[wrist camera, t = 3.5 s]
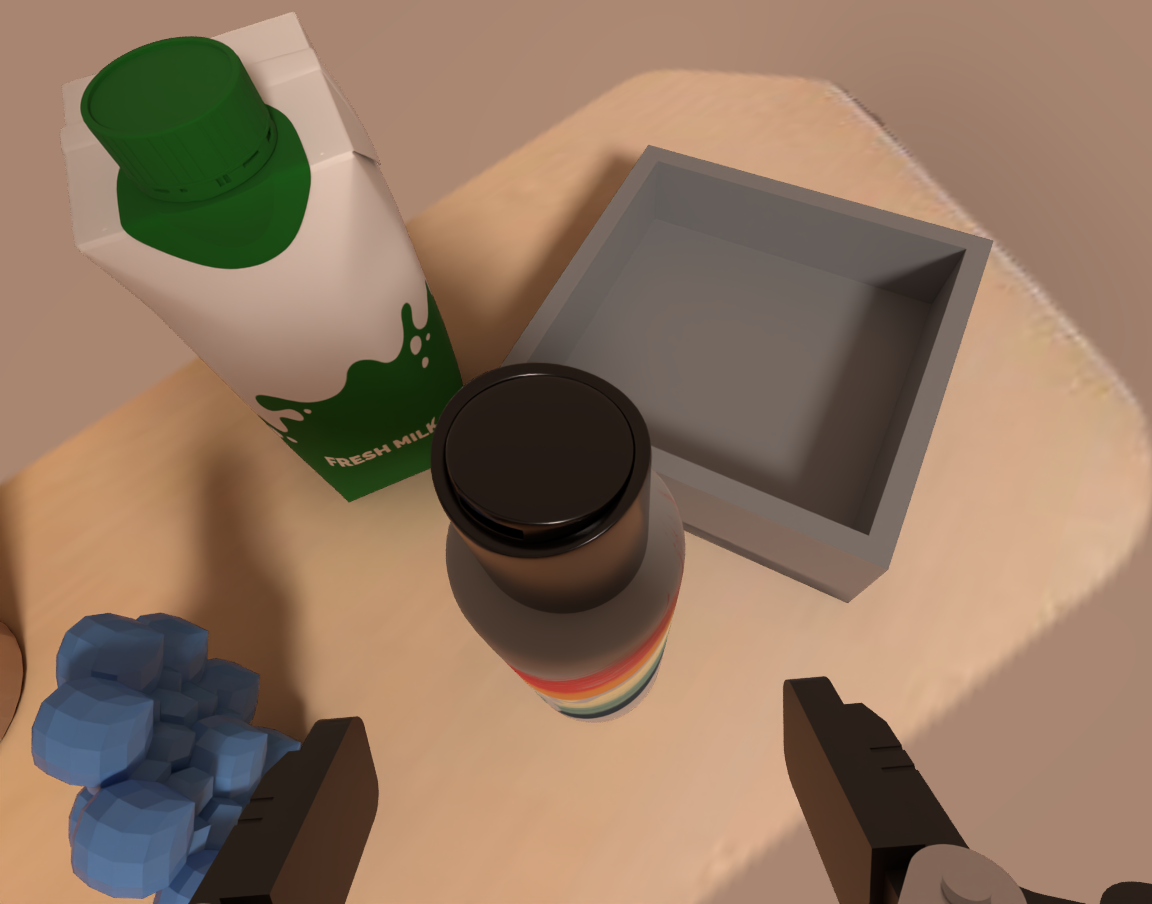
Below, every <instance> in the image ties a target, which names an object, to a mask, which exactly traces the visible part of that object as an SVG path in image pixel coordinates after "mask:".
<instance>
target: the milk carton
mask: <svg viewBox="0 0 1152 904" xmlns="http://www.w3.org/2000/svg"><path fill="white" fill-rule="evenodd" d="M62 94H63V105H64V116H65V125H66V126H65V127H63V128H61V131H60V140H61V141H60V142H61V149H62V152H63V155H64V156H65V166H66V175H67V184H68V193H69V202H70V210H71V219H72V227H73V235H74V243H75V247H77V248H78V249H79V251H80V252H81V253H82V254H83V255H85V256H86V257H87V258H89V259H90V260H91V261H92V262H94V263H95V264H96V265H97V266H99V267H100V268H101V269H103V270H104V271H105V272H106V273H108V274H109V275H110V276H111V277H113V278H114V279H115V280H116V281H118V282H119V283H120V284H121V285H123V286H124V287H125V288H126V289H128V290H129V291H130V292H131V293H132V294H134V295H135V296H136V297H137V298H139V299H140V300H141V301H142V302H143V303H144V304H146V305H147V306H148V307H149V308H150V309H151V310H153V311H154V312H155V313H156V314H157V315H158V316H159V317H160V318H161V319H162V320H163V321H164V322H165V323H166V324H167V325H168V326H169V327H170V328H171V329H172V330H173V331H174V332H175V333H176V334H177V335H178V336H179V337H180V338H181V339H182V340H183V341H184V342H185V343H186V344H187V345H188V346H189V347H190V348H191V349H192V350H193V351H194V352H195V353H196V354H197V355H198V356H199V357H200V358H201V359H202V360H203V361H204V362H205V363H206V364H207V365H208V366H209V367H210V368H211V369H212V370H213V371H214V372H215V373H216V374H217V375H218V376H219V377H220V378H221V379H222V380H223V381H224V382H225V383H226V384H227V385H228V386H229V387H230V388H231V389H232V390H233V391H234V392H235V393H236V394H237V395H238V396H239V397H240V398H241V399H242V400H243V401H244V402H245V403H246V404H247V405H248V406H249V407H250V408H251V409H252V410H253V411H254V412H255V413H256V414H257V415H258V416H259V417H260V418H261V419H262V420H263V421H264V422H265V423H266V424H267V425H268V426H269V427H270V428H271V429H272V430H273V431H274V432H275V433H276V434H277V435H279V436H280V437H281V438H282V439H283V440H284V441H285V442H286V444H287V445H288V446H289V447H290V448H292V449H293V450H294V451H295V452H296V453H297V454H298V455H299V456H300V457H301V458H302V459H303V460H304V461H305V462H306V463H308V464H309V465H310V466H311V467H312V468H313V469H314V470H315V471H316V472H317V473H318V474H319V475H321V476H322V477H323V478H324V479H325V480H326V481H327V482H328V483H329V484H330V485H331V486H332V487H333V488H335V489H336V490H337V491H338V492H339V493H340V494H341V495H342V496H343V497H344V498H345V499H346V500H347V501H348V502H351V501H353V500H355V499H358V498H360V497H362V496H365V495H367V494H370V493H372V492H374V491H377V490H379V489H382V488H384V487H386V486H389V485H391V484H394V483H396V482H398V481H401V480H403V479H406V478H408V477H410V476H413V475H415V474H418V473H420V472H422V471H425V470H427V469H429V468H431V461H430V456H431V444H432V438H433V434H434V430H435V427H436V424H437V422H438V419H439V417H440V415H441V413H442V412H443V410H444V408H445V407H446V405H447V404H448V402H449V401H450V400H451V398H452V397H453V396H454V395H455V394H456V393H457V392H458V391H459V390H460V389H461V388H462V387H463V383H462V379H461V375H460V371H459V368H458V364H457V361H456V358H455V355H454V352H453V349H452V346H451V343H450V340H449V337H448V334H447V331H446V328H445V325H444V322H443V320H442V317H441V315H440V312H439V310H438V307H437V305H436V302H435V300H434V297H433V295H432V292H431V290H430V287H429V285H428V282H427V280H426V277H425V275H424V272H423V270H422V267H421V265H420V262H419V260H418V257H417V255H416V252H415V250H414V247H413V245H412V242H411V240H410V237H409V235H408V232H407V230H406V227H405V225H404V222H403V220H402V217H401V215H400V212H399V210H398V207H397V205H396V203H395V200H394V198H393V196H392V194H391V192H390V190H389V187H388V185H387V183H386V181H385V179H384V177H383V175H382V173H381V171H380V169H379V167H378V165H377V163H378V164H379V165H381V163H380V160H379V158H378V156H377V153H376V151H375V149H374V147H373V144H372V142H371V141H370V138H369V136H368V134H367V132H366V130H365V128H364V126H363V124H362V123H361V121H360V119H359V117H358V115H357V114H356V112H355V110H354V108H353V107H352V105H351V103H350V102H349V100H348V99H347V97H346V96H345V94H344V92H343V91H342V90H341V88H340V86H339V85H338V83H337V82H336V80H335V79H334V77H333V76H332V75H331V73H330V72H329V70H328V69H327V68H326V67H325V65H324V64H323V62H322V61H321V59H320V58H319V56H318V54H317V52H316V50H315V49H314V47H313V45H312V43H311V41H310V39H309V37H308V35H307V34H306V32H305V30H304V28H303V26H302V25H301V23H300V21H299V19H298V17H297V15H296V14H295V13H294V12H291V13H287V14H284V15H281V16H277V17H274V18H271V19H268V20H265V21H262V22H259V23H256V24H252V25H249V26H246V27H242V28H239V29H236V30H233V31H230V32H227V33H224V34H220V35H217V36H214V37H211V38H205V37H192V36H191V37H176V38H169V39H164V40H160V41H156V42H153V43H150V44H147V45H144V46H141V47H139V48H136V49H134V50H132V51H130V52H128V53H126V54H124V55H122V56H121V57H119V58H117V59H116V60H114V61H112V62H111V63H110V64H108V65H107V66H106V67H104V68H103V69H102V70H101V71H100V72H99V73H96V74H93V75H90V76H87V77H84V78H80V79H77V80H74V81H71V82H68V83H65V84H63V85H62ZM376 162H377V163H376Z"/></svg>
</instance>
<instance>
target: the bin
mask: <svg viewBox="0 0 1152 904" xmlns="http://www.w3.org/2000/svg"><path fill="white" fill-rule="evenodd" d="M992 244H993V240H989V239H986V238H982V237H978V236H975V235H971V234H968V233H964V232H960V231H957V230H953V229H950V228H946V227H942V226H939V225H935V224H932V223H928V222H924V221H921V220H917V219H914V218H910V217H906V216H903V215H899V214H896V213H892V212H888V211H885V210H881V209H878V208H874V207H870V206H867V205H863V204H860V203H856V202H852V201H849V200H845V199H842V198H838V197H834V196H831V195H827V194H824V193H820V192H816V191H813V190H809V189H806V188H802V187H798V186H795V185H791V184H788V183H784V182H780V181H777V180H773V179H770V178H766V177H762V176H759V175H755V174H751V173H748V172H744V171H741V170H737V169H733V168H730V167H726V166H723V165H719V164H715V163H712V162H708V161H705V160H701V159H697V158H694V157H690V156H687V155H683V154H679V153H676V152H672V151H669V150H665V149H661V148H658V147H654V146H651V145H648V146H647V148H646V149H645V151H644V152H643V154H642V155H641V157H640V158H639V160H638V161H637V163H636V164H635V166H634V167H633V169H632V170H631V172H630V173H629V175H628V176H627V178H626V179H625V181H624V182H623V184H622V185H621V187H620V188H619V190H618V191H617V193H616V194H615V196H614V197H613V199H612V200H611V202H610V203H609V205H608V206H607V208H606V209H605V211H604V212H603V214H602V215H601V217H600V218H599V220H598V221H597V223H596V224H595V226H594V227H593V229H592V230H591V232H590V233H589V235H588V236H587V238H586V239H585V240H584V242H583V243H582V245H581V246H580V248H579V249H578V251H577V252H576V254H575V255H574V257H573V258H572V260H571V261H570V263H569V264H568V266H567V267H566V269H565V270H564V272H563V273H562V275H561V276H560V278H559V279H558V281H557V282H556V284H555V285H554V287H553V288H552V290H551V291H550V293H549V294H548V296H547V297H546V299H545V300H544V302H543V303H542V305H541V306H540V308H539V309H538V311H537V312H536V314H535V315H534V317H533V318H532V320H531V321H530V323H529V324H528V326H527V327H526V329H525V330H524V332H523V333H522V335H521V336H520V338H519V339H518V341H517V342H516V344H515V345H514V347H513V348H512V350H511V351H510V353H509V354H508V356H507V357H506V359H505V360H504V362H503V363H502V365H501V366H500V367H503V366H507V365H512V364H518V363H530V362H541V363H553V364H560V365H565V366H570V367H574V368H577V369H580V370H583V371H586V372H589V373H591V374H594V375H596V376H598V377H600V378H602V379H604V380H606V381H607V382H609V383H611V384H612V385H614V386H615V387H617V388H618V389H619V390H620V391H622V392H623V393H624V394H625V395H626V396H627V397H628V398H629V399H630V400H631V401H632V402H633V403H634V405H635V406H636V407H637V408H638V410H639V412H640V413H641V415H642V416H643V418H644V420H645V423H646V425H647V428H648V431H649V435H650V440H651V450H652V463H651V468H652V469H653V470H654V471H655V472H656V473H657V474H658V475H659V477H660V478H661V479H662V480H663V482H664V483H665V485H666V486H667V487H668V489H669V491H670V493H671V495H672V496H673V498H674V501H675V503H676V505H677V508H678V511H679V514H680V517H681V520H682V524H683V529H684V530H685V531H687V532H689V533H691V534H694V535H696V536H698V537H700V538H703V539H705V540H707V541H709V542H711V543H714V544H716V545H718V546H720V547H723V548H725V549H727V550H729V551H732V552H734V553H736V554H738V555H741V556H743V557H745V558H747V559H750V560H752V561H754V562H756V563H759V564H761V565H763V566H765V567H768V568H770V569H772V570H774V571H777V572H779V573H781V574H783V575H786V576H788V577H790V578H792V579H795V580H797V581H799V582H801V583H804V584H806V585H808V586H810V587H813V588H815V589H817V590H819V591H822V592H824V593H826V594H828V595H831V596H833V597H835V598H837V599H840V600H842V601H844V602H846V603H849V602H850V601H851V600H852V599H853V598H855V597H856V596H857V595H858V594H859V593H861V592H862V591H863V590H864V589H865V588H867V587H868V586H869V585H870V584H871V583H873V582H874V581H875V580H876V579H877V578H879V577H880V576H881V575H882V574H884V573H885V572H886V571H887V570H888V568H889V565H890V562H891V559H892V556H893V553H894V549H895V546H896V543H897V540H898V537H899V534H900V531H901V528H902V524H903V521H904V518H905V515H906V512H907V509H908V506H909V503H910V500H911V496H912V493H913V490H914V487H915V484H916V481H917V478H918V475H919V471H920V468H921V465H922V462H923V459H924V456H925V453H926V450H927V446H928V443H929V440H930V437H931V434H932V431H933V428H934V425H935V422H936V418H937V415H938V412H939V409H940V406H941V403H942V400H943V397H944V393H945V390H946V387H947V384H948V381H949V378H950V375H951V372H952V368H953V365H954V362H955V359H956V356H957V353H958V350H959V347H960V344H961V340H962V337H963V334H964V331H965V328H966V325H967V322H968V319H969V315H970V312H971V309H972V306H973V303H974V300H975V297H976V294H977V290H978V287H979V284H980V281H981V278H982V275H983V272H984V269H985V266H986V262H987V259H988V256H989V253H990V250H991V247H992Z"/></svg>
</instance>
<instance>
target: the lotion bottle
mask: <svg viewBox="0 0 1152 904" xmlns="http://www.w3.org/2000/svg"><path fill="white" fill-rule="evenodd" d="M430 461H431V473H432V480H433V483H434V487H435V491H436V493H437V496H438V499H439V501H440V503H441V505H442V507H443V509H444V511H445V513H446V514H447V516H448V518H449V519H450V521H451V522H450V525H449V529H448V535H447V542H446V564H447V572H448V577H449V581H450V585H451V588H452V591H453V594H454V597H455V599H456V601H457V603H458V606H459V608H460V609H461V611H462V613H463V614H464V616H465V617H466V619H467V620H468V621H469V623H470V624H471V625H472V627H473V628H474V629H475V631H476V632H477V633H478V634H479V635H480V636H481V637H482V638H483V639H484V640H485V641H486V642H487V644H488V645H489V646H490V647H491V648H492V649H493V650H494V651H495V652H496V653H497V654H498V655H499V656H500V657H501V658H502V659H503V660H504V661H505V662H506V663H507V664H508V665H509V666H510V667H511V668H512V669H513V670H514V671H515V672H516V673H517V674H518V675H519V676H520V677H521V678H522V679H523V680H524V681H525V682H526V683H527V684H528V685H529V686H530V687H531V688H532V689H533V690H534V691H535V692H536V693H537V694H538V695H539V696H540V697H541V698H542V699H543V700H544V701H545V702H547V703H548V704H549V705H550V706H551V707H552V708H554V709H555V710H557V711H558V712H560V713H561V714H563V715H565V716H567V717H569V718H572V719H575V720H578V721H583V722H591V723H595V722H606V721H610V720H614V719H616V718H619V717H621V716H623V715H625V714H627V713H628V712H630V711H631V710H633V709H634V708H635V707H637V706H638V705H639V704H640V703H641V702H642V701H643V699H644V698H645V697H646V696H647V694H648V693H649V691H650V689H651V688H652V686H653V684H654V682H655V679H656V677H657V674H658V671H659V668H660V664H661V660H662V656H663V652H664V648H665V645H666V641H667V637H668V633H669V629H670V625H671V621H672V617H673V614H674V610H675V606H676V602H677V598H678V594H679V589H680V585H681V580H682V575H683V569H684V560H685V537H684V529H683V524H682V520H681V517H680V514H679V511H678V508H677V505H676V503H675V501H674V498H673V496H672V495H671V493H670V491H669V489H668V487H667V486H666V485H665V483H664V482H663V480H662V479H661V478H660V477H659V475H658V474H657V473H656V472H655V471H654V470H653V469H652V468H651V463H652V450H651V440H650V435H649V431H648V428H647V425H646V423H645V420H644V418H643V416H642V415H641V413H640V412H639V410H638V408H637V407H636V406H635V405H634V403H633V402H632V401H631V400H630V399H629V398H628V397H627V396H626V395H625V394H624V393H623V392H622V391H620V390H619V389H618V388H617V387H615V386H614V385H612V384H611V383H609V382H607V381H606V380H604V379H602V378H600V377H598V376H596V375H594V374H591V373H589V372H586V371H583V370H580V369H577V368H574V367H570V366H565V365H560V364H553V363H541V362H530V363H518V364H512V365H507V366H503V367H499V368H496V369H493V370H491V371H488V372H486V373H484V374H482V375H480V376H478V377H476V378H475V379H473V380H471V381H470V382H469V383H467V384H466V385H465V386H463V387H462V388H461V389H460V390H459V391H458V392H457V393H456V394H455V395H454V396H453V397H452V398H451V400H450V401H449V402H448V404H447V405H446V407H445V408H444V410H443V412H442V413H441V415H440V417H439V419H438V422H437V424H436V427H435V430H434V434H433V438H432V444H431V456H430Z"/></svg>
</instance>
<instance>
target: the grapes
mask: <svg viewBox="0 0 1152 904" xmlns="http://www.w3.org/2000/svg"><path fill="white" fill-rule="evenodd" d="M207 652H208V631H207V630H205V629H203V628H201V627H199V626H197V625H194V624H192V623H190V622H188V621H186V620H184V619H182V618H180V617H176V616H172V615H168V614H164V613H155V614H149V615H142V616H140V617H139V618H137V619H136V620H135V619H132V618H128V617H124V616H120V615H115V614H111V613H105V614H98V615H92V616H85V617H84V618H83V619H81V620H80V621H79V622H78V623H76V624H75V625H74V626H73V627H72V628H70V629H69V630H68V631H67V632H66V633H65V635H64V638H63V641H62V643H61V646H60V648H59V651H58V653H57V657H56V679H57V685H58V689H57V690H55V691H54V692H53V693H52V694H51V695H50V696H49V697H48V698H46V699H45V700H44V701H43V702H42V703H41V706H40V708H39V711H38V714H37V716H36V719H35V721H34V724H33V726H32V756H33V760H34V764H35V765H36V766H37V767H38V768H39V769H41V770H42V771H43V772H45V773H46V774H48V775H50V776H52V777H54V778H56V779H59V780H61V781H63V782H65V783H67V784H69V785H78V786H85V787H84V788H83V789H82V790H81V791H80V792H79V793H78V794H77V796H76V799H75V802H74V804H73V807H72V810H71V813H70V816H69V842H70V847H71V864H72V868H73V873H74V874H75V875H76V876H77V877H79V878H80V879H81V880H82V881H83V882H84V883H86V884H87V885H88V886H89V887H91V888H93V889H95V890H98V891H100V892H102V893H104V894H106V895H109V896H111V897H113V898H138V899H143V898H145V897H147V896H149V895H151V894H153V893H155V892H156V895H155V898H154V902H153V904H188V903H189V902H190V900H191V898H192V897H193V895H194V893H195V891H196V890H197V888H198V886H199V885H200V883H201V881H202V880H203V878H204V876H205V874H206V873H207V871H208V869H209V868H210V866H211V864H212V863H213V861H214V859H215V857H216V856H217V854H218V852H219V851H220V849H221V847H222V846H223V844H224V842H225V841H226V839H227V837H228V835H229V834H230V832H231V830H232V829H233V827H234V825H237V824H238V818H239V817H240V815H241V813H242V812H243V810H244V808H245V807H246V805H247V804H249V803H250V798H251V796H252V795H253V793H254V791H255V790H256V788H257V786H258V784H259V783H260V781H261V779H262V778H263V776H264V774H265V773H266V772H267V771H268V770H269V769H270V768H271V767H272V766H274V765H275V764H276V763H277V762H278V761H279V760H280V759H281V758H282V757H283V756H284V755H285V754H286V753H287V752H288V751H298V750H300V749H301V742H299V741H297V740H295V739H293V738H292V737H290V736H288V735H286V734H283V733H281V732H279V731H277V730H275V729H269V728H264V727H254V726H252V725H250V724H249V723H250V722H251V720H252V719H253V716H254V713H255V709H256V705H257V702H258V693H259V678H260V675H259V674H257V673H255V672H253V671H251V670H249V669H247V668H245V667H243V666H240V665H238V664H236V663H234V662H230V661H226V660H221V659H217V658H215V659H210V660H207Z"/></svg>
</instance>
